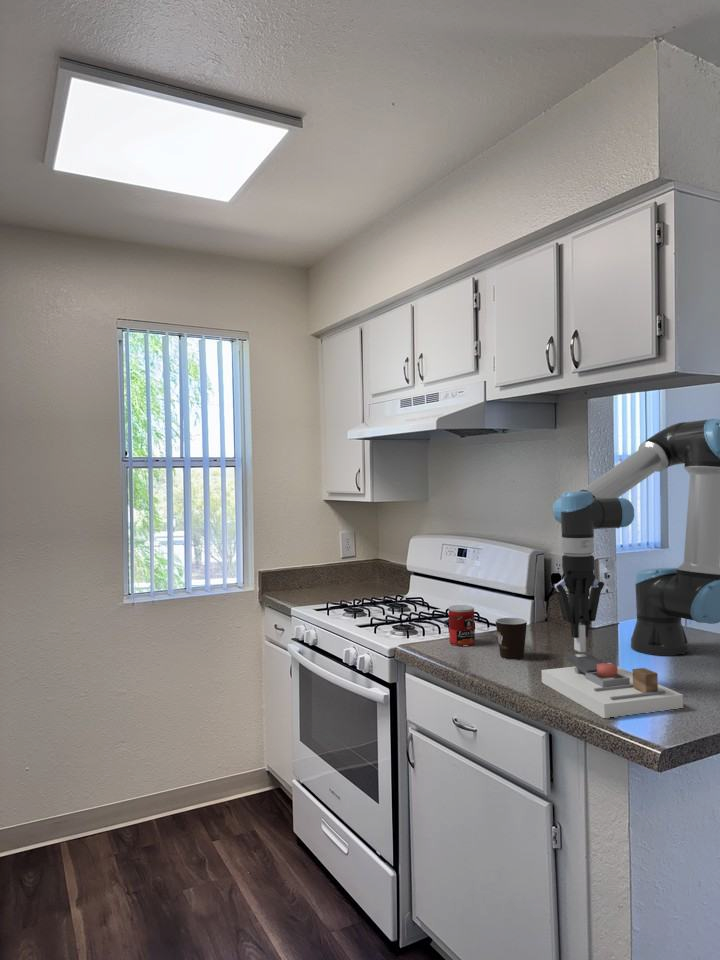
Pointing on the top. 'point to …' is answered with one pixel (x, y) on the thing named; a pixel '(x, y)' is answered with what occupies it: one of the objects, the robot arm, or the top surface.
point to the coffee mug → (511, 637)
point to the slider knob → (645, 680)
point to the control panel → (609, 692)
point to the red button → (607, 670)
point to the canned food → (461, 625)
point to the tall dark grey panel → (584, 661)
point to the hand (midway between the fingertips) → (580, 650)
